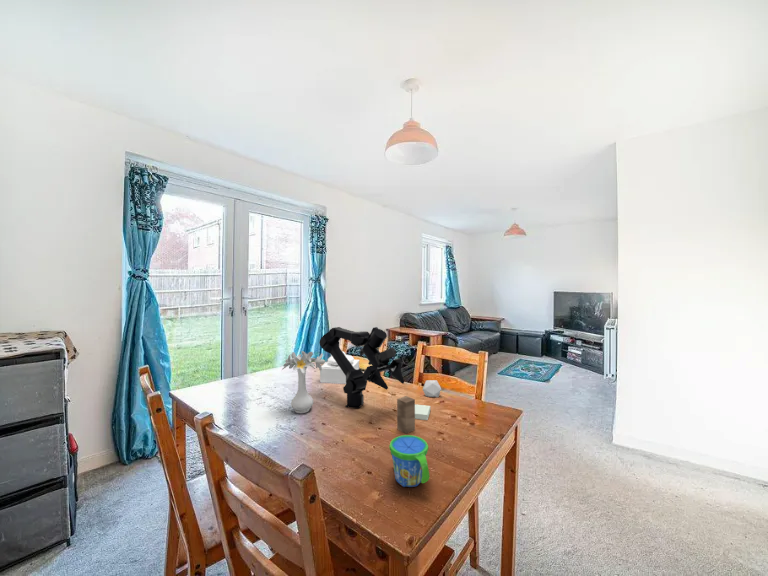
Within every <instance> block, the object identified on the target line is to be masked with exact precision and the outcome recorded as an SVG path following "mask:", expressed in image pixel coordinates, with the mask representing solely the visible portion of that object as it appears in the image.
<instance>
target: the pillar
mask: <svg viewBox="0 0 768 576" xmlns="http://www.w3.org/2000/svg"><path fill="white" fill-rule="evenodd" d="M415 400H416V399H414V398H412V397H410V396H407V395H406V396H402V397H399V398H397V399H396V402H397V403H396V405H397V407H396V412H397V413H396V416H397V419H396V421H397V422H396V423H397V426H396V427H397V430H398V431H400V432H401V433H403V434H404V435H408V434H409V433H411V432H413V431H415V430H416V419H415V404H416V401H415Z"/></svg>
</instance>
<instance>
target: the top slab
mask: <svg viewBox="0 0 768 576" xmlns="http://www.w3.org/2000/svg"><path fill="white" fill-rule="evenodd" d="M430 413H431V405H424V404H418V403H417V404H416V403H415V420H420V419H422V420H421V421H428V419H429V416H430Z"/></svg>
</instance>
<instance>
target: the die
mask: <svg viewBox="0 0 768 576" xmlns="http://www.w3.org/2000/svg"><path fill="white" fill-rule="evenodd" d="M422 391H423V393H424V396H425V397H429V398H439V396H440V394H441V392H442V387H441V385H440V384H439V382H438V380H437V379H436V380H434V379H433V380H431V379H429V380H425V382H424V385H423V388H422ZM440 391H441V392H440Z"/></svg>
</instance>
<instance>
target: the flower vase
mask: <svg viewBox="0 0 768 576" xmlns="http://www.w3.org/2000/svg"><path fill="white" fill-rule="evenodd" d="M313 355H314V352H313V351H309V352H305V351H303V350H302V351H301V354H298V355H296V352H293V351H292V352H291V354H288V358H286V359H285V362H284V363H283V367H282V369H281V371H283V370H284V369H286V368H287V367H288V369H292V370H293V371H296V372H297V376H298V379H297V381H298V382H297V383H298V384H297V392H296V394H295V395H294V397H293V398H292V400H291V401H290V406H291V408H292V409H293V410H294V412H295V413H297V414H306V413H308V412H309V411H310V409H311V408H312V407H313V405H314V399H313V397H312V395H310V394H309V393H308V392H309V391H308V389H307V383H306V382H307V381H306V374H307V369H308V367H311V368H312V369H314V370H315V369H319V372H320V371H321V370H322V367H321V366H322V365H324V364H325V363H326V360H325V359H322V358H323V356H324V354H323V353H320V355H319V356H316V358H315V357H313ZM314 363H315V364H314Z"/></svg>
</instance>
